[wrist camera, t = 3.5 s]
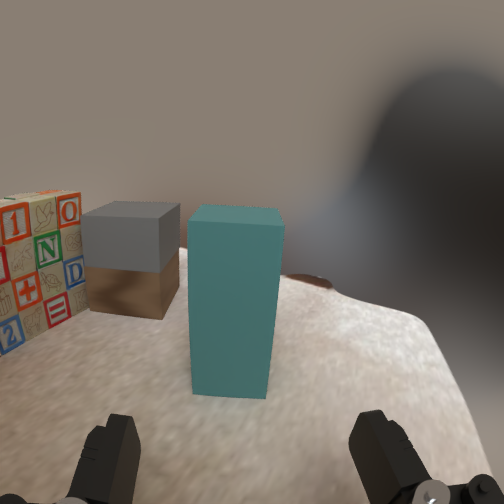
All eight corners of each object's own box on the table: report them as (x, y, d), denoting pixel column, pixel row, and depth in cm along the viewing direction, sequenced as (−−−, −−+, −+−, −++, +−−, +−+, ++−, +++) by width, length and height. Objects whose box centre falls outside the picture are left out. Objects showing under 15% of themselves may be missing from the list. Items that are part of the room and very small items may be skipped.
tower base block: (90, 312, 29) (83, 266, 27) (118, 281, 36) (115, 242, 35) (162, 321, 29) (159, 273, 27) (179, 287, 36) (178, 246, 35)
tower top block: (84, 266, 27) (80, 215, 26) (116, 242, 35) (114, 201, 33) (160, 273, 27) (158, 218, 26) (180, 246, 35) (180, 202, 33)
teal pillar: (192, 394, 20) (187, 220, 16) (202, 352, 24) (202, 204, 21) (265, 398, 20) (284, 225, 16) (263, 356, 25) (277, 208, 21)
